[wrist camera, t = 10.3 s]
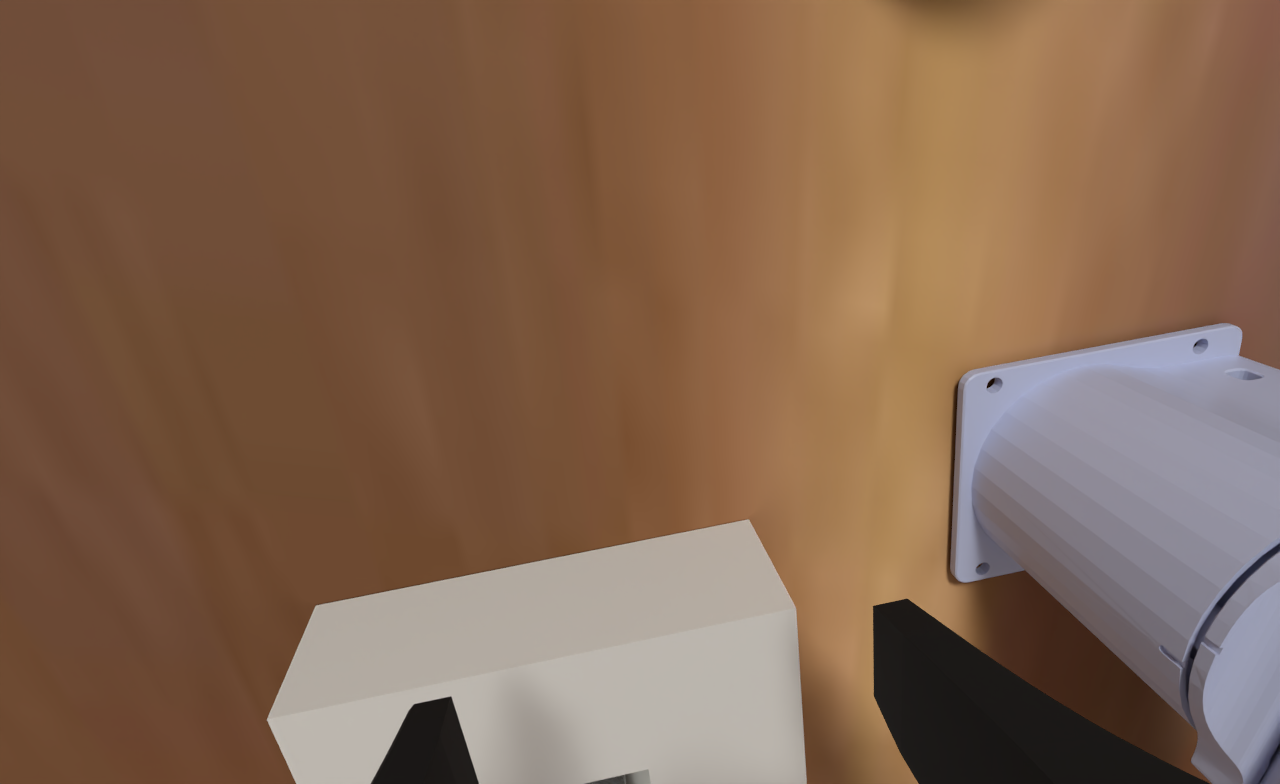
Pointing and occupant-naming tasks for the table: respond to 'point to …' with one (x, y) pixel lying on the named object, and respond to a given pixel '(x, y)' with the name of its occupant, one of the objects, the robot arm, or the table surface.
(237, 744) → the table surface
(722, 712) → the hole block
